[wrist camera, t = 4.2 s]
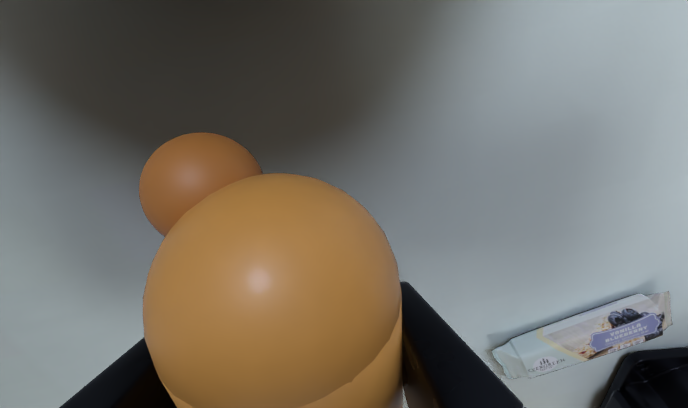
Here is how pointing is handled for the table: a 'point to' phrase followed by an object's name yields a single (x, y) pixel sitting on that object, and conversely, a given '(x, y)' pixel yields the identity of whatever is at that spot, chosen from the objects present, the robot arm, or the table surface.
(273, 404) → the croissant
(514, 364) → the granola bar
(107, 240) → the table surface
